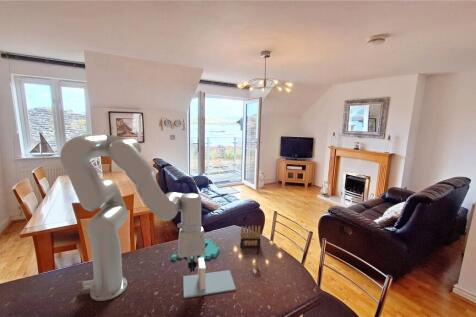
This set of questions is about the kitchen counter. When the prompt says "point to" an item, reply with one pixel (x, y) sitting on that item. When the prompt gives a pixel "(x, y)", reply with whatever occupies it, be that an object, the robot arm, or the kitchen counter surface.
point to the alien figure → (210, 251)
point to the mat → (208, 284)
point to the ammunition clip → (250, 238)
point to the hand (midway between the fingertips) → (192, 269)
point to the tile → (201, 273)
